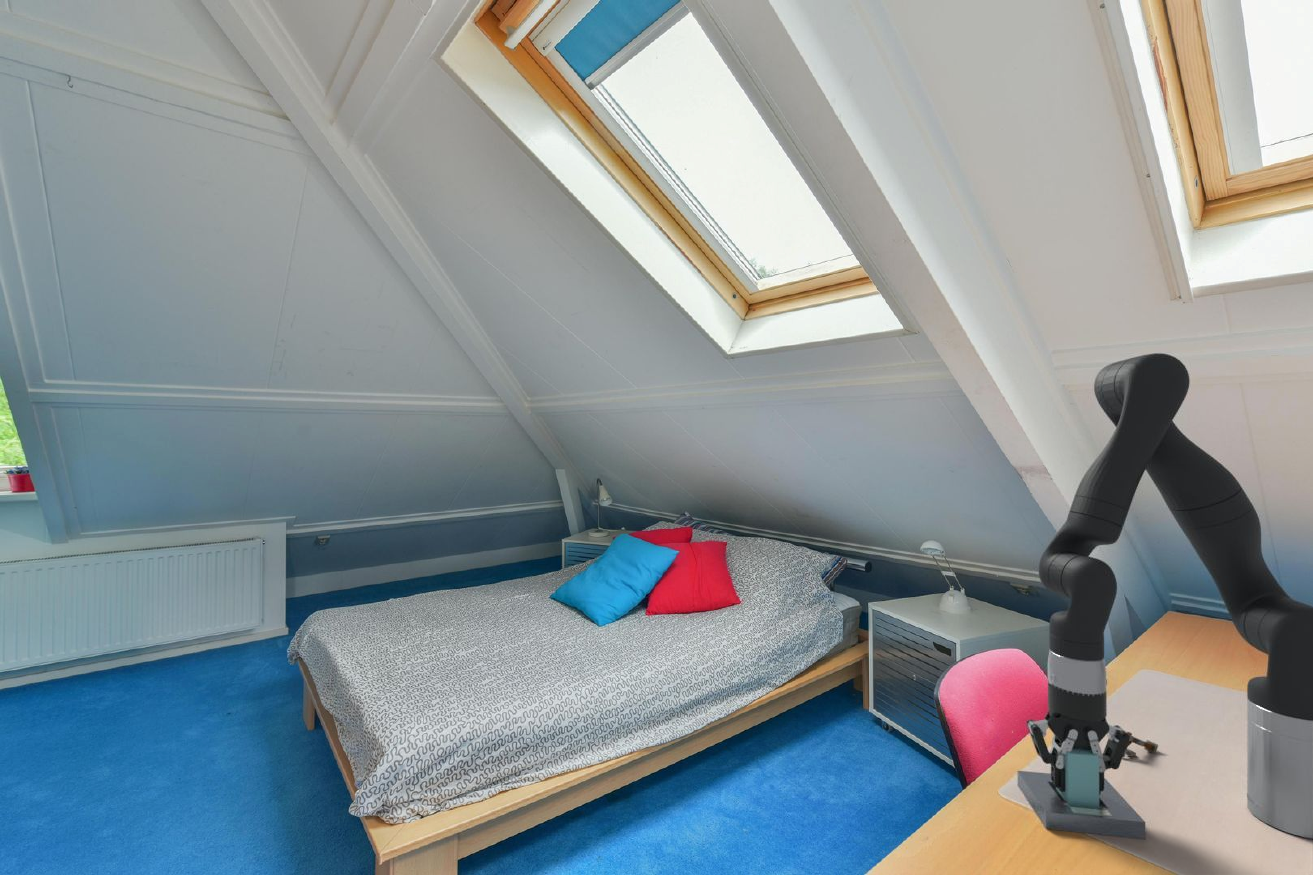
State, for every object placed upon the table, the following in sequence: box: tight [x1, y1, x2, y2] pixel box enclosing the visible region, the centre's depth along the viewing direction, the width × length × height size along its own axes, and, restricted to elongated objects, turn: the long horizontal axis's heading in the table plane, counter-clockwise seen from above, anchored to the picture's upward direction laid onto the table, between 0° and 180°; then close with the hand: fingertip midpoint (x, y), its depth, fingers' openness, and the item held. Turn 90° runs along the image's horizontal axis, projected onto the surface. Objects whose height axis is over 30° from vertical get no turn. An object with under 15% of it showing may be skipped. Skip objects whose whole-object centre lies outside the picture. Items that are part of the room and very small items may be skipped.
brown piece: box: [1123, 731, 1159, 758], centre depth 109 cm, size 2×8×4 cm, turn 108°
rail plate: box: [1017, 770, 1146, 840], centre depth 94 cm, size 13×11×3 cm
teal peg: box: [1056, 744, 1099, 808], centre depth 94 cm, size 4×4×8 cm
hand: (1077, 789), depth 94 cm, fingers closed on teal peg, 4 cm apart
